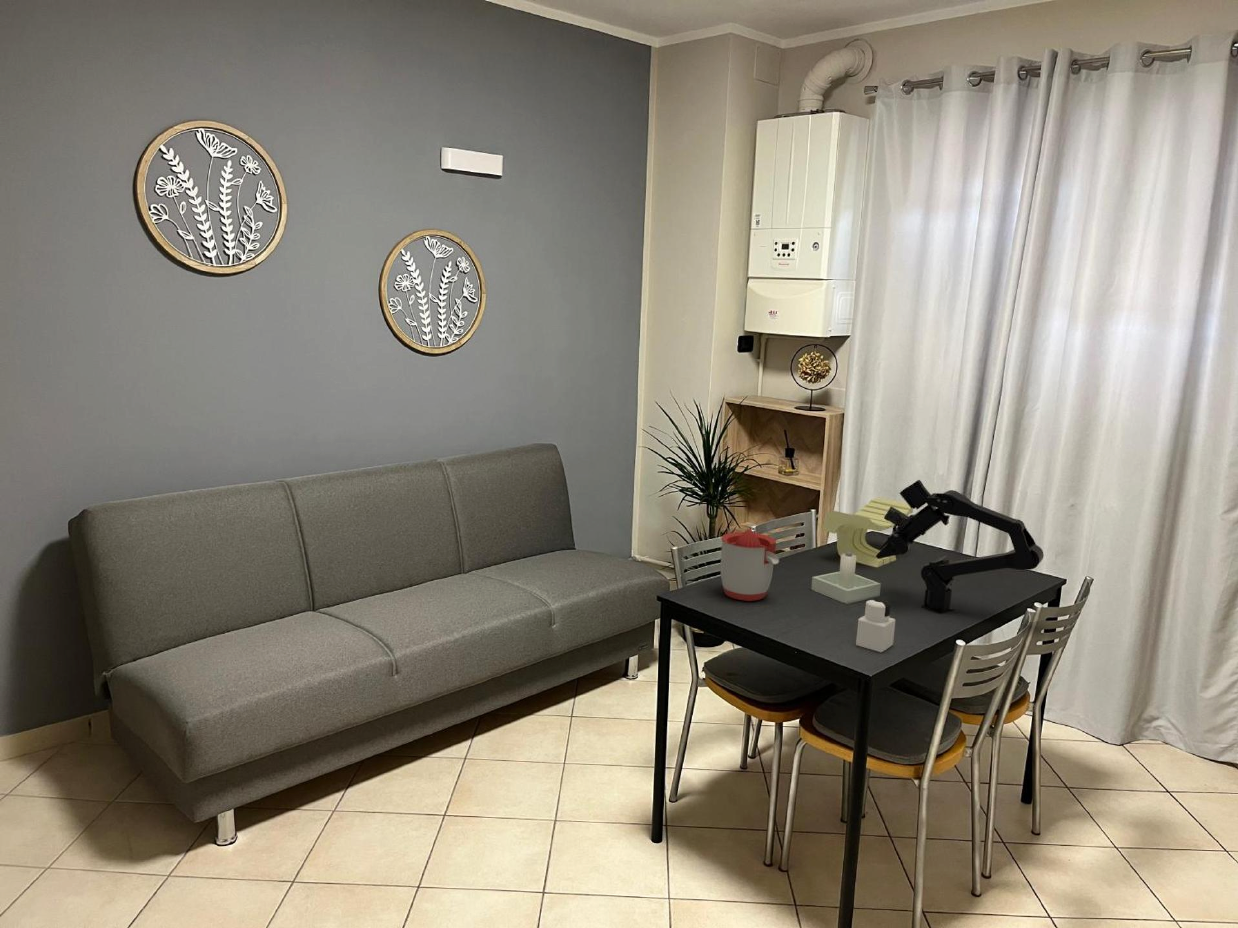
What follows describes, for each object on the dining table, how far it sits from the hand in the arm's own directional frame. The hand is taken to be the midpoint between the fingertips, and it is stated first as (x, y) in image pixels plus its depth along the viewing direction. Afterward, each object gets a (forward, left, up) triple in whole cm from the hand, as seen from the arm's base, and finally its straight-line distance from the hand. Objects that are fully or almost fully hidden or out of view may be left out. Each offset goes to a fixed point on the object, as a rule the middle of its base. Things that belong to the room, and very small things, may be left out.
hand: (879, 553), depth 270 cm
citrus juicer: (+19, +33, -14) cm, 41 cm away
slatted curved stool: (+29, -29, -14) cm, 43 cm away
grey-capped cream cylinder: (+7, +5, -13) cm, 15 cm away
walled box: (+7, +5, -13) cm, 16 cm away
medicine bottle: (-25, +29, -14) cm, 41 cm away
